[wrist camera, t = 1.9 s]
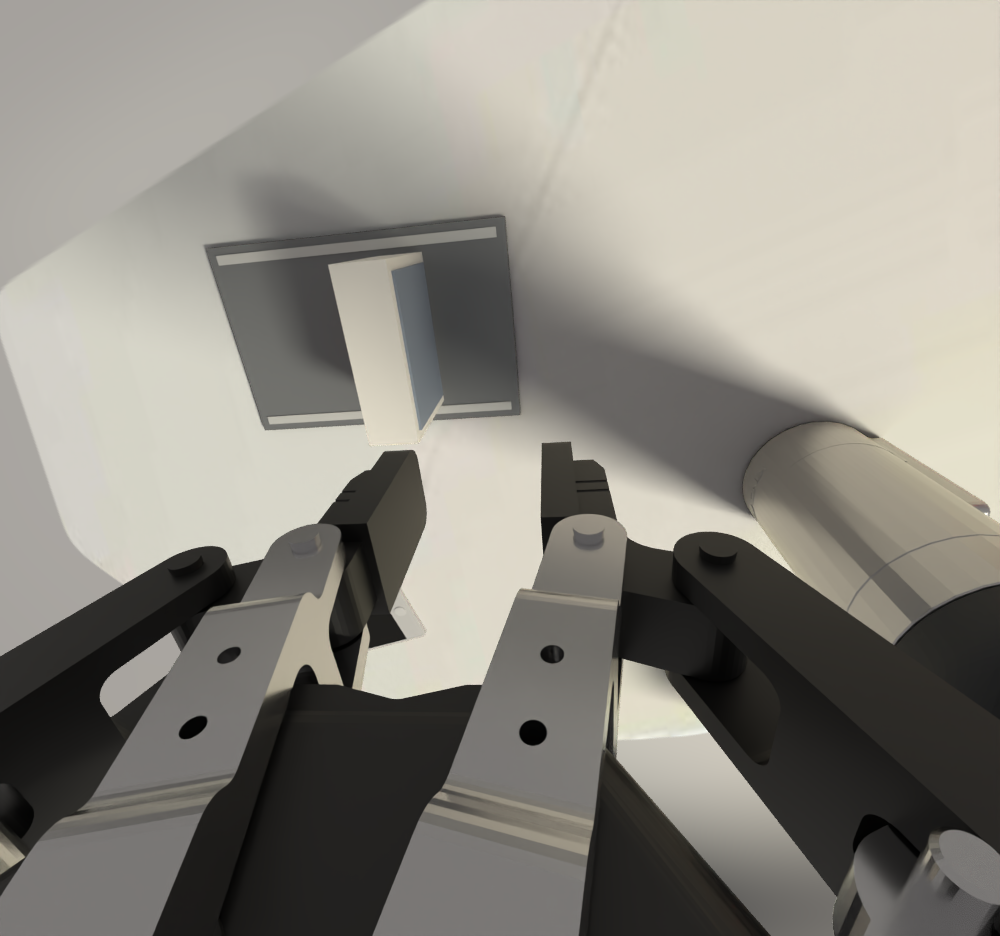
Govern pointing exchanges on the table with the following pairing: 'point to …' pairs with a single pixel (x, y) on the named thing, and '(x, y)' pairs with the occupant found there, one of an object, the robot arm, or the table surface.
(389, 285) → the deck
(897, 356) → the table surface
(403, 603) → the smartphone
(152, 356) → the table surface
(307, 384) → the mat
